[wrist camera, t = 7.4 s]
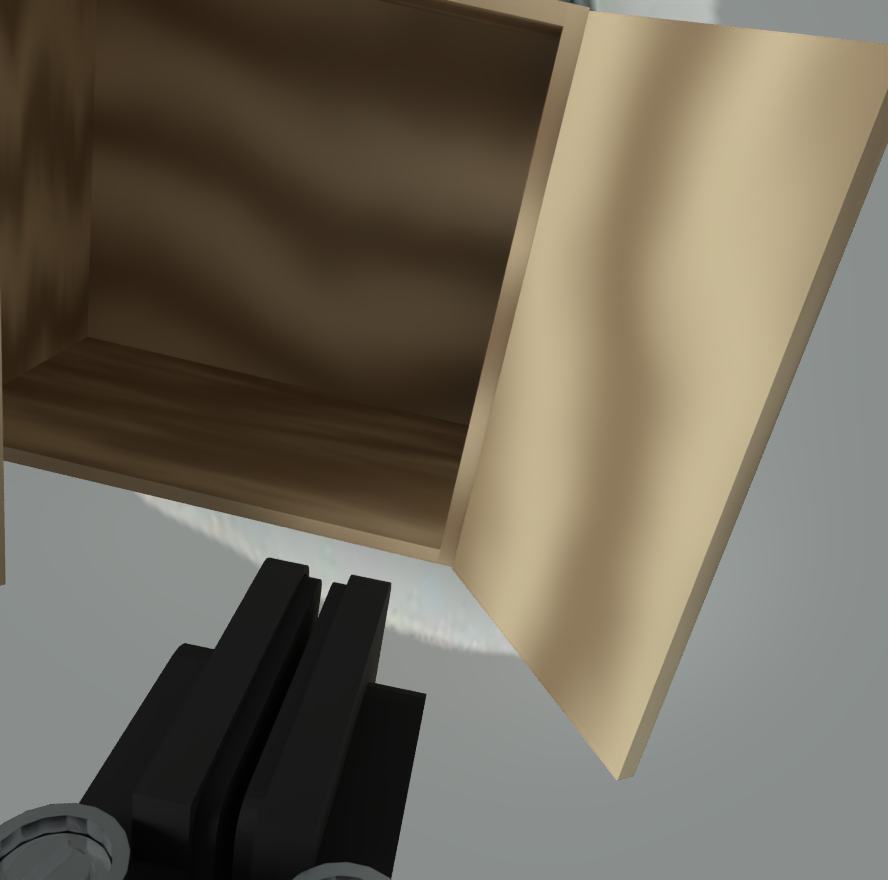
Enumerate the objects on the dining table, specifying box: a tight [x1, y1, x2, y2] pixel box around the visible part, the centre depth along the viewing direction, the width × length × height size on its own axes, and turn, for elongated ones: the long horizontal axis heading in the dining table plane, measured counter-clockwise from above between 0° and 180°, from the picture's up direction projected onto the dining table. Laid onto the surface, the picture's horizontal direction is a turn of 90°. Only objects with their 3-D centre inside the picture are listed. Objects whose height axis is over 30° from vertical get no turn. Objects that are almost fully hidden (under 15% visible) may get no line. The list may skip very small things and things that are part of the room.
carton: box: [0, 0, 590, 567], centre depth 34 cm, size 19×21×13 cm
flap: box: [452, 11, 888, 781], centre depth 24 cm, size 10×19×1 cm
